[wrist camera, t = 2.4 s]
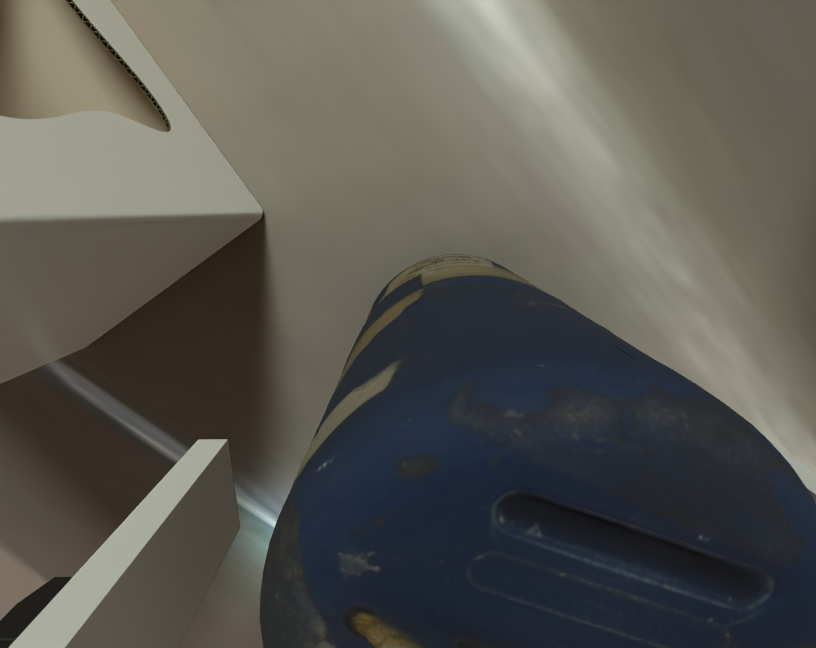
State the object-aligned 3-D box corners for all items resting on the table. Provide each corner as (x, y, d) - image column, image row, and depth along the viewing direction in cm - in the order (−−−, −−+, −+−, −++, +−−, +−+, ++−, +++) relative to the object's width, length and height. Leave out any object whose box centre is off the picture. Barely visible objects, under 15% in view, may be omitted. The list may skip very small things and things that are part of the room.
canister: (466, 442, 24) (604, 1041, 7) (331, 356, 23) (70, 838, 5) (573, 316, 22) (1187, 726, 5) (431, 212, 20) (540, 231, 3)
